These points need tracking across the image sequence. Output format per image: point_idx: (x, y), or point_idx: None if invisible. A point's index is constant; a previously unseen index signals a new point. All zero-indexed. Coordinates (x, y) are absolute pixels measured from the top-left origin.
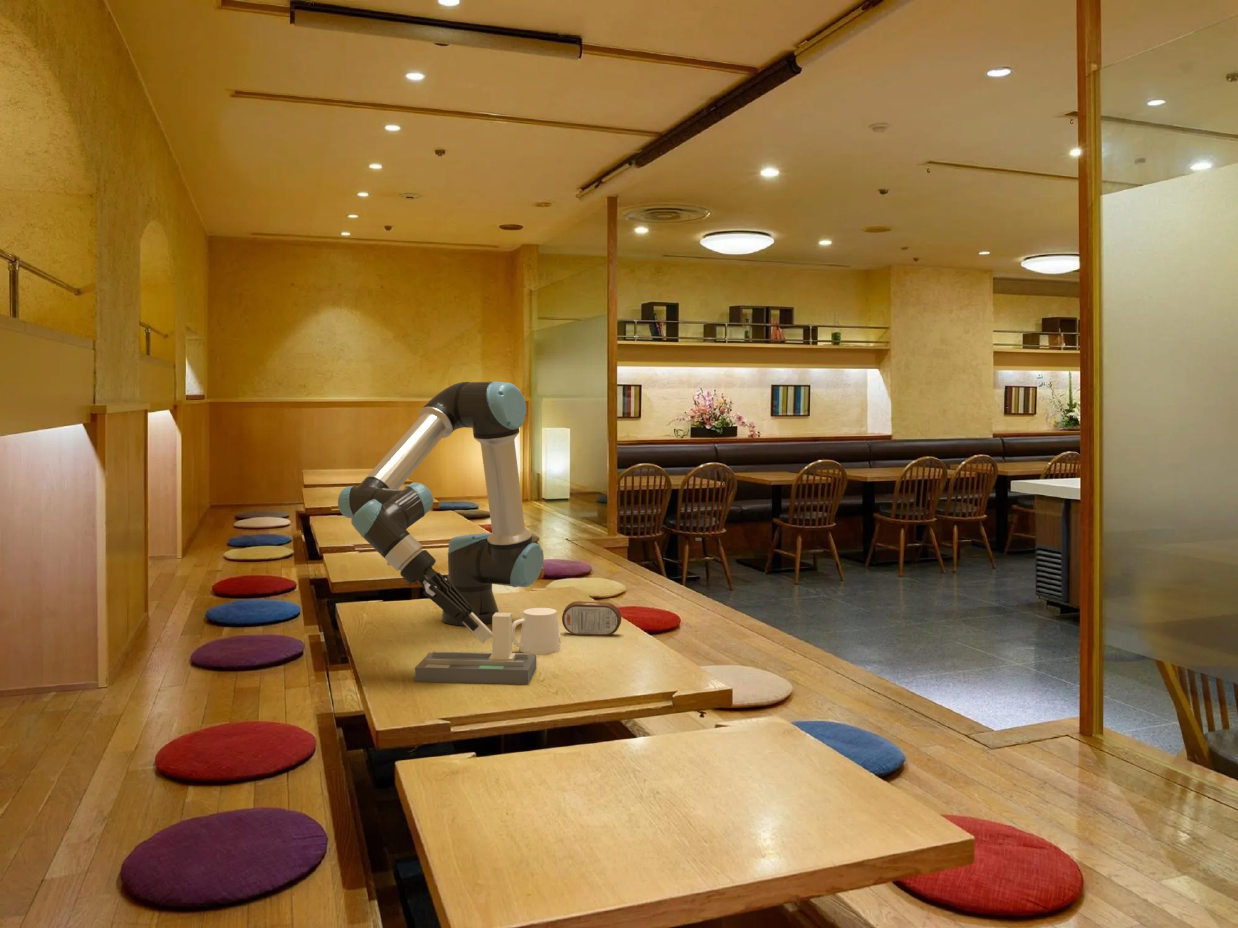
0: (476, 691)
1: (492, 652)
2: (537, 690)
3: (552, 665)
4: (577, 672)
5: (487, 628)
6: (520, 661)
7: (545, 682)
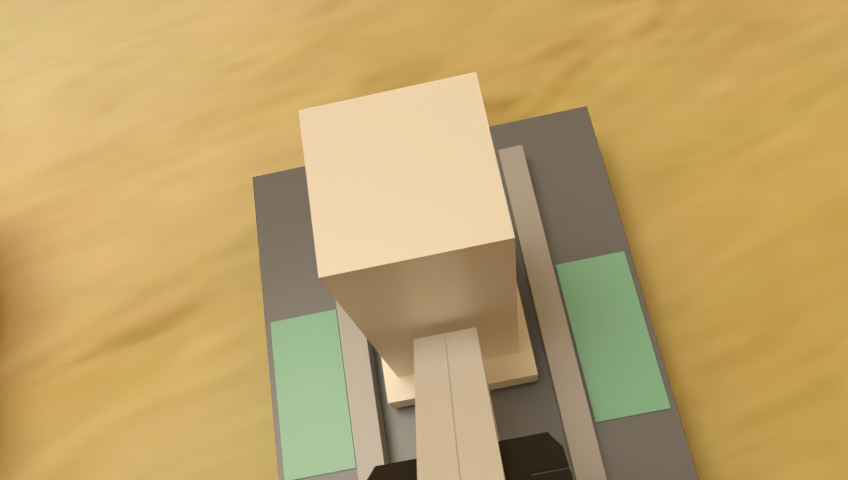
0: (821, 367)
1: (518, 343)
2: (664, 72)
3: (212, 154)
4: (315, 10)
5: (440, 373)
6: (517, 161)
7: (519, 84)
